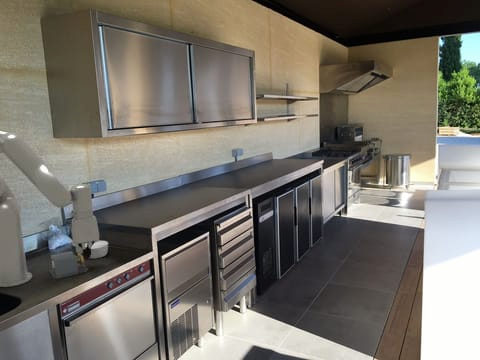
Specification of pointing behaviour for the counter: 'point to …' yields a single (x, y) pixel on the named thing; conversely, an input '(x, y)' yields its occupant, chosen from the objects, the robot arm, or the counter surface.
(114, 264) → the counter surface
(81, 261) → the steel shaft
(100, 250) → the ramekin
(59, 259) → the bearing housing
